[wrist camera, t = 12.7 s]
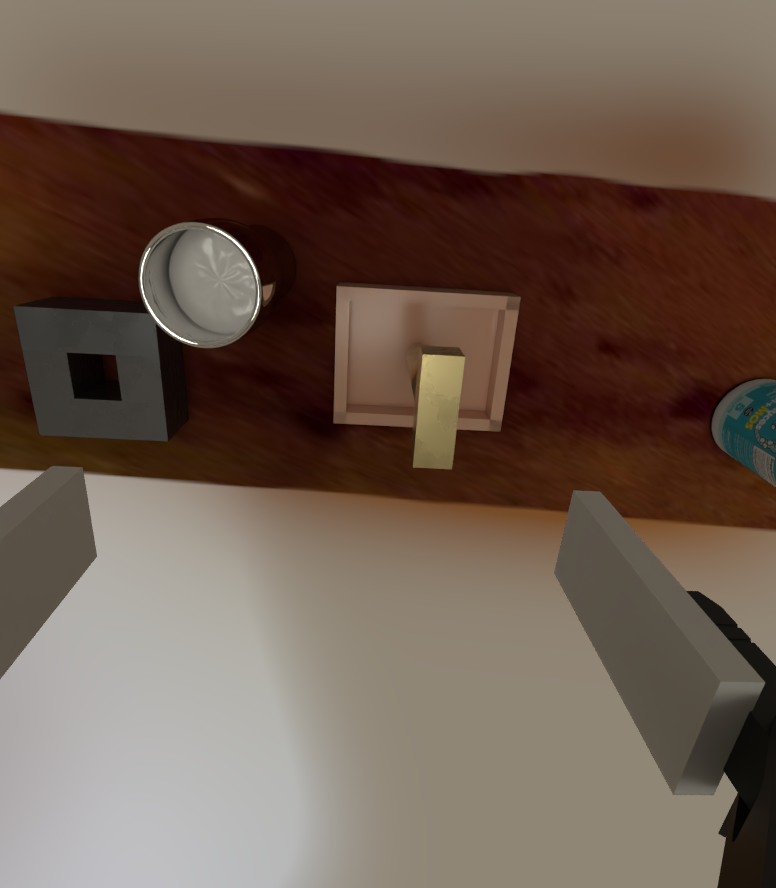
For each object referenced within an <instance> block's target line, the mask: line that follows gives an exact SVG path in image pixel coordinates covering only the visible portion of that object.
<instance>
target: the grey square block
mask: <svg viewBox="0 0 776 888" xmlns="http://www.w3.org/2000/svg"><path fill="white" fill-rule="evenodd" d="M13 307H14V312H15V317H16V322H17V327H18V332H19V336H20V341H21V346H22V351H23V356H24V361H25V366H26V371H27V376H28V380H29V385H30V390H31V395H32V400H33V405H34V410H35V415H36V420H37V425H38V429H39V434H40V435H47V436H68V437H88V438H109V439H130V440H151V441H169V440H170V439H171V438H172V437H173V436H174V434H175V433H176V432H177V431H178V430H179V429H180V428H181V427H182V426H183V425H184V424H185V423H186V422H187V421H188V409H187V398H186V386H185V375H184V364H183V352H182V342H180V341H178V340H176V339H174V338H172V337H171V336H169V335H168V334H167V333H165V332H164V331H163V330H162V329H161V328H160V327H159V326H158V325H157V324H156V323H155V322H154V320H153V319H152V318H151V316H150V315H149V313H148V311H147V310H146V308H145V306H144V303H143V302H132V301H115V300H97V299H80V298H63V297H50V298H45V299H41V300H37V301H33V302H28V303H24V304H20V305H16V306H13ZM101 354H104V355H116V361H117V369H118V376H119V381H105V378H104V371H103V365H102V358H101Z"/></svg>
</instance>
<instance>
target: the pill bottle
mask: <svg viewBox="0 0 776 888" xmlns="http://www.w3.org/2000/svg"><path fill="white" fill-rule="evenodd" d="M712 434H713V437H714V440H715V442H716V443H717V445H718V446H719V447H720V448H721V449H722V450H723V451H724V452H726V453H727V454H729V455H730V456H731V457H733V458H734V459H736V460H737V461H739V462H740V463H741V464H743V465H744V466H746V467H747V468H749V469H750V470H752V471H753V472H755V473H756V474H758V475H759V476H760V477H762V478H763V479H765V480H766V481H768V482H769V483H771V484H772V485H774V486H775V487H776V380H773V379H757V380H752V381H749V382H746V383H744V384H742V385H740V386H738V387H736V388H735V389H733V390H732V391H730V392H729V393H728V394H727V395H726V396H725V397H724V398H723V399H722V400H721V402H720V403H719V405H718V406H717V408H716V410H715V412H714V415H713V418H712Z"/></svg>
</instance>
